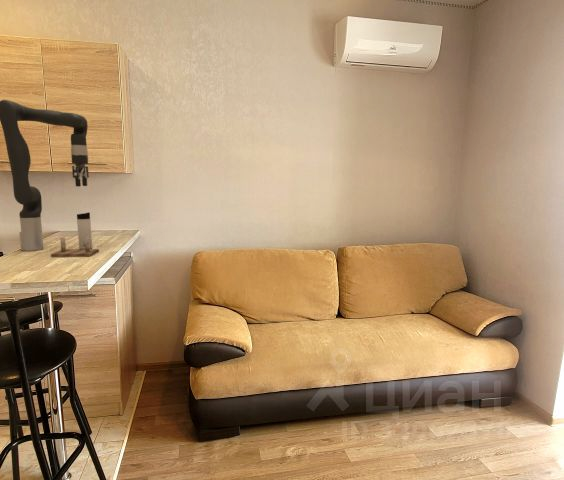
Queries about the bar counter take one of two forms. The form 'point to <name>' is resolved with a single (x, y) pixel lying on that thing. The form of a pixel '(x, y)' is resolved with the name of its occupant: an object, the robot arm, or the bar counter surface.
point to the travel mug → (84, 229)
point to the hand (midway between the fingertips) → (81, 186)
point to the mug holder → (75, 250)
